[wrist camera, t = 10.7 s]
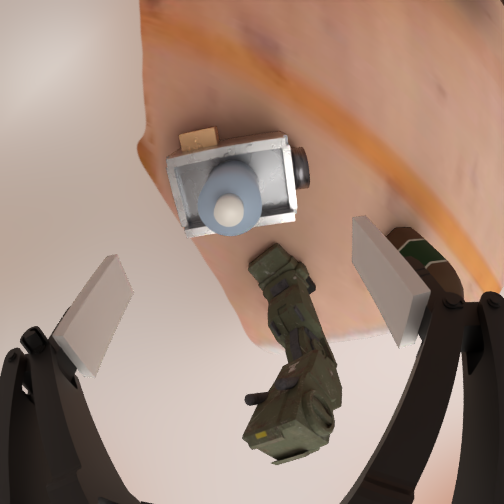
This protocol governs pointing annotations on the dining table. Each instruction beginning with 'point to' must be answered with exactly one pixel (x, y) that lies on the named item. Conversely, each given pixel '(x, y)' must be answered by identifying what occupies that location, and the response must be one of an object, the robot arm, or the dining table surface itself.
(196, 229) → the open grey metal box
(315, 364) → the mechanical leg
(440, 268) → the beer bottle
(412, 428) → the robot arm
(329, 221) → the dining table surface
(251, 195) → the light blue bottle
